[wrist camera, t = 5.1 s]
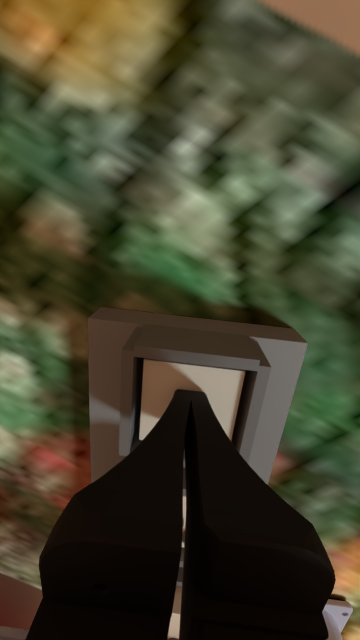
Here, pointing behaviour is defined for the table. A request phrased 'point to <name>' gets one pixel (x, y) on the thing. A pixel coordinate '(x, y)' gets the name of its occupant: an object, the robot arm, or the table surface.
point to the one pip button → (173, 375)
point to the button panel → (196, 348)
